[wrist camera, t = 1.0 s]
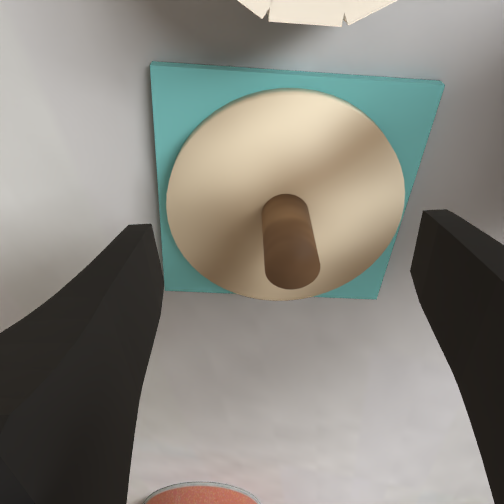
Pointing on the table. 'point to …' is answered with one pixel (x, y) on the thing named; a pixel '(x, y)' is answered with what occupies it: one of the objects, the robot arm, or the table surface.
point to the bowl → (315, 10)
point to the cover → (285, 194)
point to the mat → (254, 80)
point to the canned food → (201, 494)
